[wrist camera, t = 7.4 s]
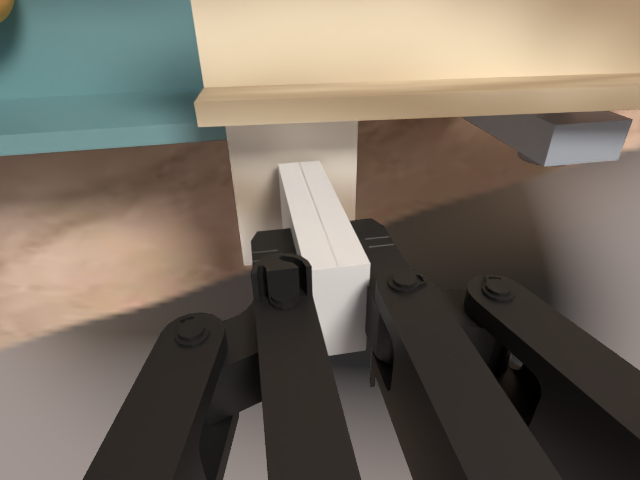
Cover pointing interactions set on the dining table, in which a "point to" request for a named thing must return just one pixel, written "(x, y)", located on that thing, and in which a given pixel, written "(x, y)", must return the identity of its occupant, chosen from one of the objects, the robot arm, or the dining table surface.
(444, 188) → the dining table surface
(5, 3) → the ball
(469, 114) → the lever
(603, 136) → the stand
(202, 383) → the robot arm
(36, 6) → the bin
